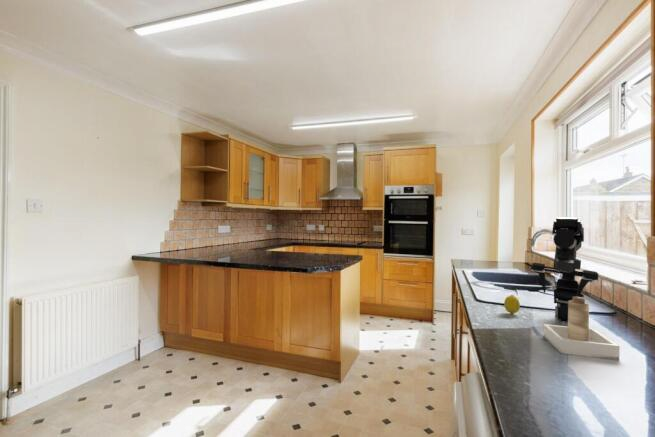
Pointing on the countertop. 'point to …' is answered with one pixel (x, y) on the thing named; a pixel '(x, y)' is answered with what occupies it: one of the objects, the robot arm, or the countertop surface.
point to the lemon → (512, 304)
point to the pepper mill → (578, 319)
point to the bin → (581, 343)
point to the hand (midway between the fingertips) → (560, 295)
